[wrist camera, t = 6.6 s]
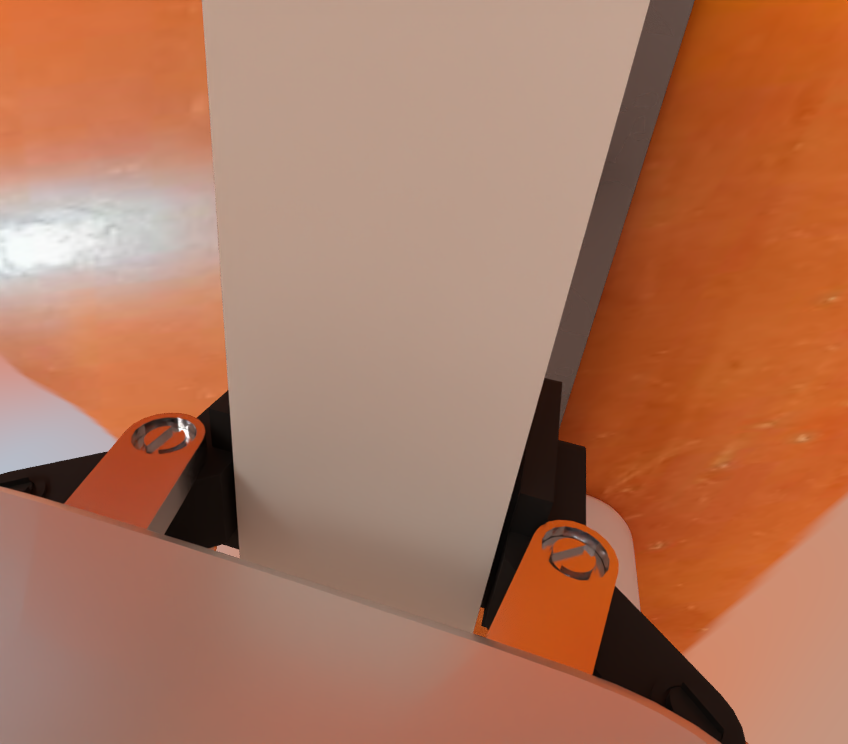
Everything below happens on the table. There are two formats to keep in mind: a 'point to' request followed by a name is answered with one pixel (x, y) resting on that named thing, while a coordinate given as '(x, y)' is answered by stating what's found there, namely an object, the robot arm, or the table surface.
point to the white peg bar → (399, 268)
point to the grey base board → (618, 183)
